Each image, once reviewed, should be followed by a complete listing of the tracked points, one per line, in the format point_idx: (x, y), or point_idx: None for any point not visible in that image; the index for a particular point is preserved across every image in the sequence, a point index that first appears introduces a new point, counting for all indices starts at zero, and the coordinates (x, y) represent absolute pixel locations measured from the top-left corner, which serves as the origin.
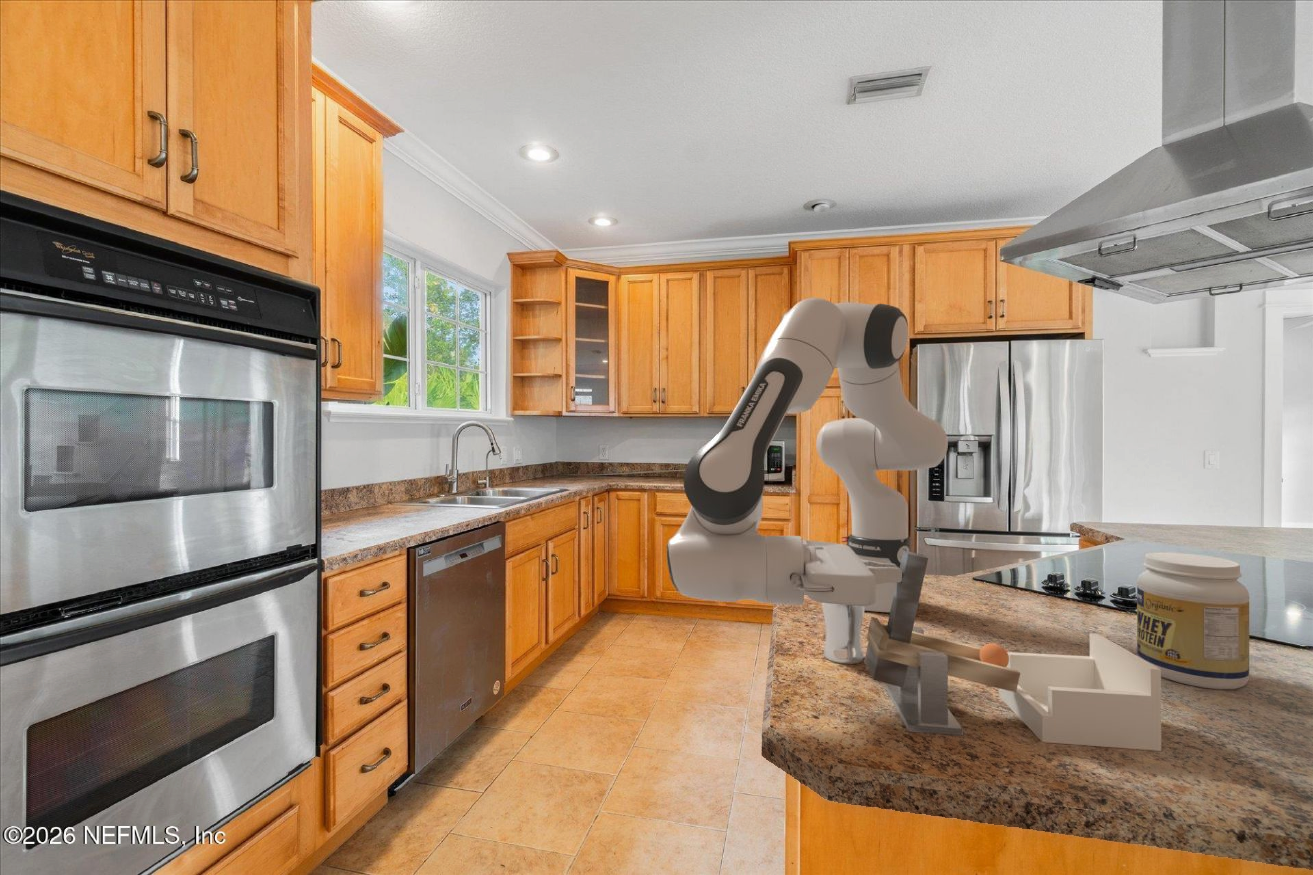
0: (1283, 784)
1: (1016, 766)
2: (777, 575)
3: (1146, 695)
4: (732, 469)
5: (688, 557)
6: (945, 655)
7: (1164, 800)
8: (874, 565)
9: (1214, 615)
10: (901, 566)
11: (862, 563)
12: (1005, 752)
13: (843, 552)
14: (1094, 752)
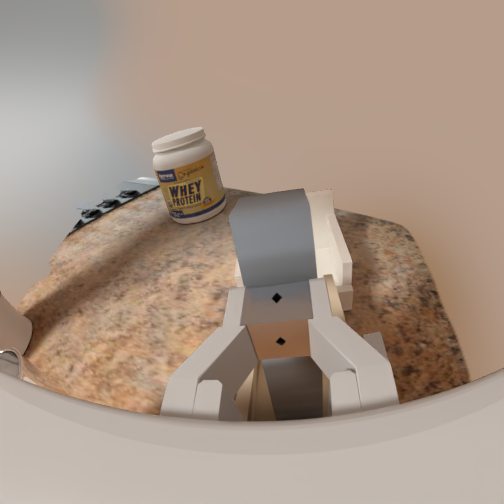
0: (355, 216)
1: (412, 336)
2: None
3: (334, 215)
4: None
5: None
6: (376, 333)
7: (411, 263)
8: (225, 363)
9: (213, 160)
10: (260, 274)
11: (448, 404)
12: (388, 341)
13: (86, 468)
14: (355, 280)
